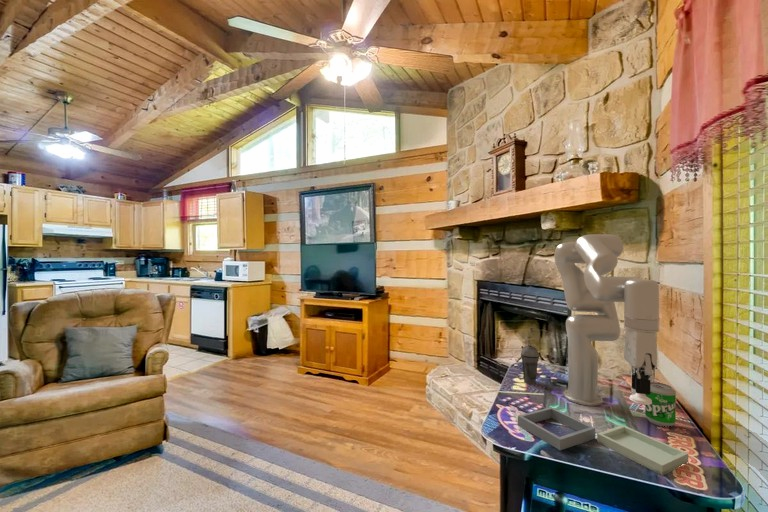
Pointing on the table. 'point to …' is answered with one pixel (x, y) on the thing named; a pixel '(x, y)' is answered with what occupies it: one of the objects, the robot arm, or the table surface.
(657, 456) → the tray
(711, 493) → the table surface
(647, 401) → the chess piece
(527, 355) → the beverage cup
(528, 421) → the shallow grey bin
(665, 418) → the soda can
